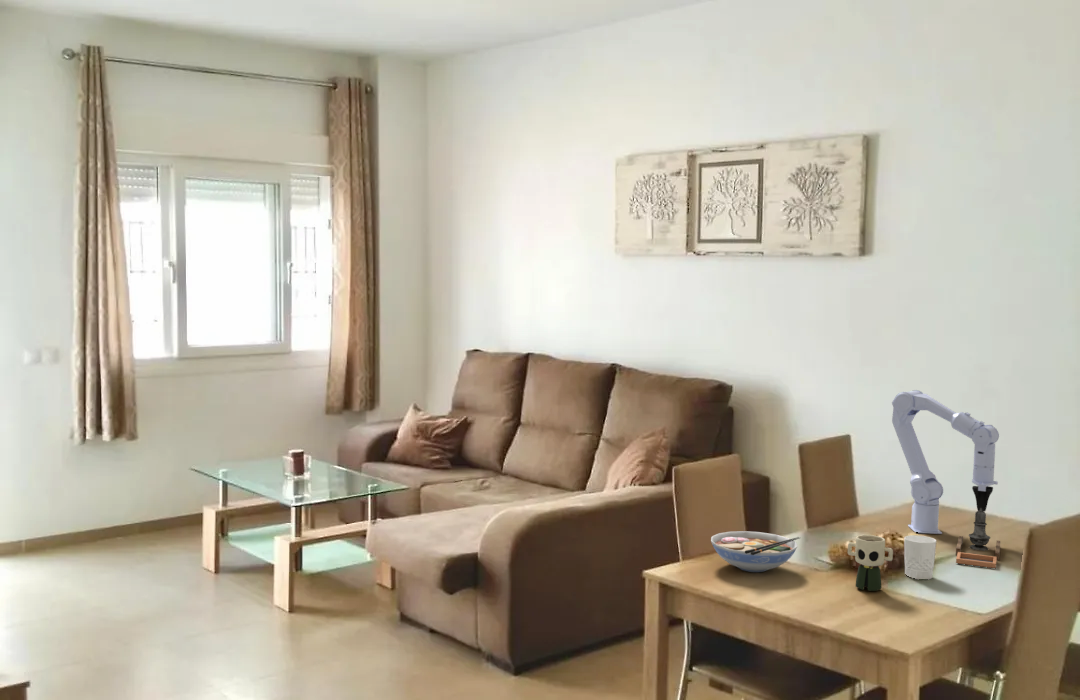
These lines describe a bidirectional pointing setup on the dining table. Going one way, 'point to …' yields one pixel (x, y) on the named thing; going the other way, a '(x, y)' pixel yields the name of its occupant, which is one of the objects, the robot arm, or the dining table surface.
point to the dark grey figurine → (979, 532)
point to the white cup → (919, 556)
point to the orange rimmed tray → (960, 542)
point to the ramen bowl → (753, 549)
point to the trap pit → (976, 560)
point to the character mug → (869, 560)
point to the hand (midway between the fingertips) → (981, 510)
